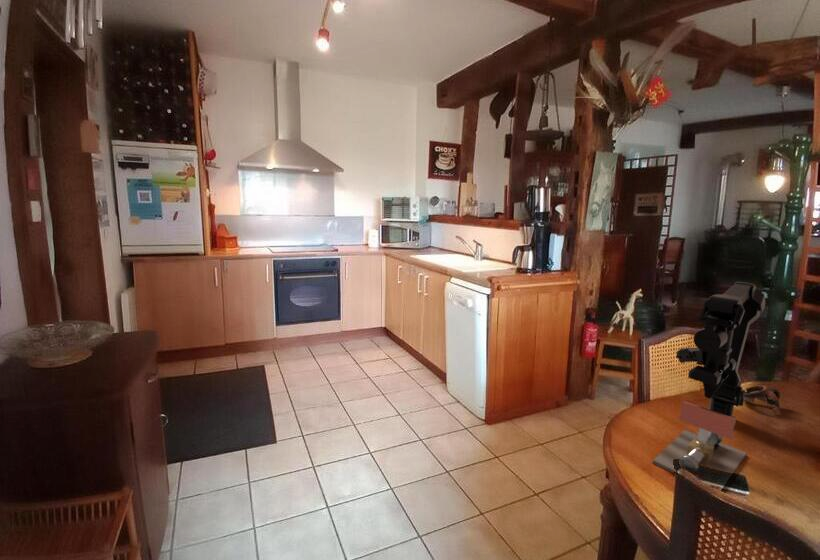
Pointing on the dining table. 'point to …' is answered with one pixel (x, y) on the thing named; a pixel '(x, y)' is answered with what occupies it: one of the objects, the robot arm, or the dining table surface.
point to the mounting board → (721, 460)
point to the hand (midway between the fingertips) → (708, 397)
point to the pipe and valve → (700, 453)
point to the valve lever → (707, 421)
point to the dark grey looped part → (763, 396)
